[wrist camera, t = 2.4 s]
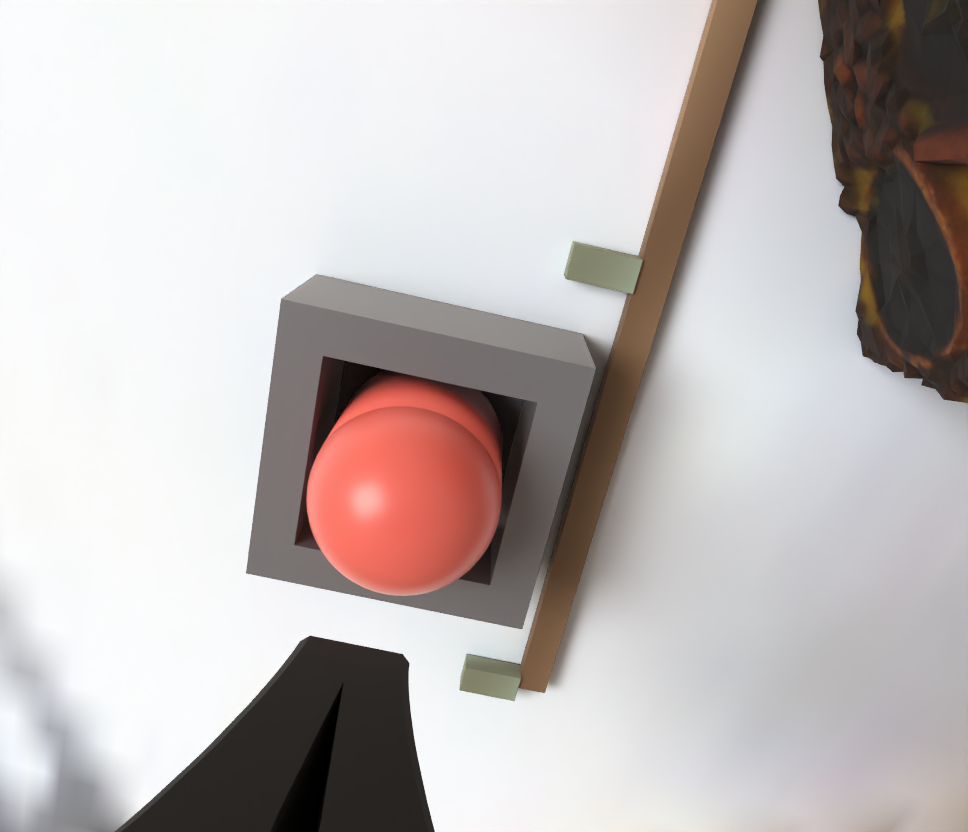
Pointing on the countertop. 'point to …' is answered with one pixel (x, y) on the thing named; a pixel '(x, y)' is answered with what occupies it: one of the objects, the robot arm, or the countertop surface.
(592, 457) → the track
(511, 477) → the button box
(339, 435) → the dome
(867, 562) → the countertop surface
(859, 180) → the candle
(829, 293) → the countertop surface
